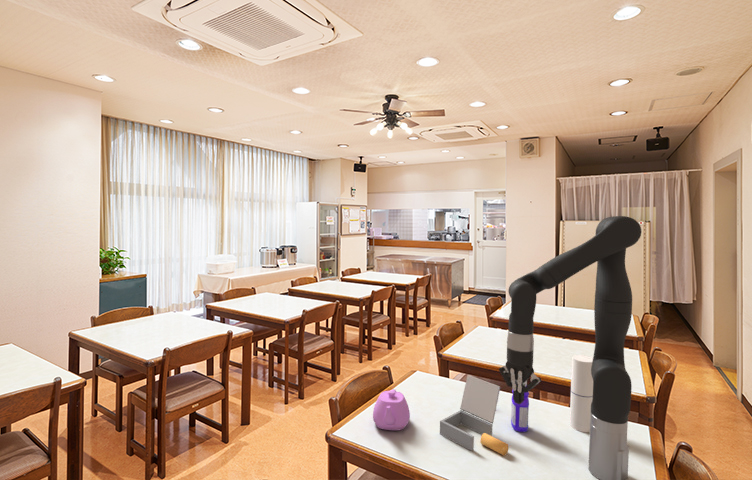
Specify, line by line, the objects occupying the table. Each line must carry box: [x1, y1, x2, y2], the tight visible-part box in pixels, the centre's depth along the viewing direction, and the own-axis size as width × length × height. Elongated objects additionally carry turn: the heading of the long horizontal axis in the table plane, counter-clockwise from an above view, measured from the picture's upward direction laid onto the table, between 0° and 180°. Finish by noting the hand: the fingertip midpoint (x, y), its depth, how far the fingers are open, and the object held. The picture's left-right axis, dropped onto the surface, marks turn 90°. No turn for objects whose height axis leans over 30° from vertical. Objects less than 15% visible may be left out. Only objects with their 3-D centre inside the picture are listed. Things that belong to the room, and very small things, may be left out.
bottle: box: [510, 382, 530, 433], centre depth 134 cm, size 7×6×17 cm
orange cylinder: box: [480, 433, 510, 456], centre depth 121 cm, size 8×4×4 cm, turn 42°
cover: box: [459, 374, 501, 425], centre depth 134 cm, size 13×12×1 cm
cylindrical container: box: [569, 354, 593, 433], centre depth 135 cm, size 7×7×25 cm
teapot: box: [372, 388, 411, 431], centre depth 135 cm, size 20×13×12 cm, turn 172°
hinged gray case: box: [439, 409, 493, 452], centre depth 129 cm, size 13×12×4 cm
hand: (518, 402), depth 114 cm, fingers closed
